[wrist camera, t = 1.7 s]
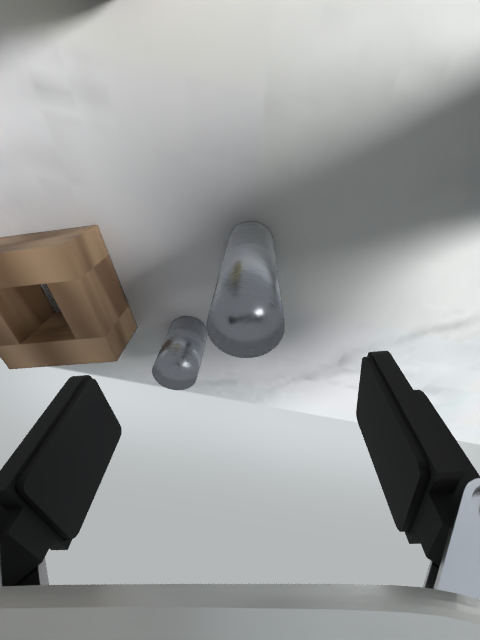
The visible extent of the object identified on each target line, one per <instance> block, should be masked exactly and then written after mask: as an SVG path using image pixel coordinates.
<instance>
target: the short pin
mask: <svg viewBox="0 0 480 640" xmlns="http://www.w3.org/2000/svg"><path fill="white" fill-rule="evenodd" d="M206 338H207V328H206V326H205V325H204V323H203V322H202V321H200V320H199V319H197V318H195V317H191V316H182V317H179V318H177V319H176V320H175V321H174V322H173V323H172V325H171V327H170V330H169V332H168V334H167V336H166V339H165V341H164V343H163V345H162V348H161V350H160V352H159V354H158V357H157V359H156V361H155V363H154V366H153V369H152V373H153V376H154V378H155V380H156V381H157V382H158V383H159V384H161V385H162V386H164V387H166V388H168V389H172V390H184V389H187V388H189V387H191V386H192V385H193V384H194V383H195V381H196V378H197V374H198V370H199V366H200V362H201V358H202V354H203V350H204V346H205V342H206Z"/></svg>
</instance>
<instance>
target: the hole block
mask: <svg viewBox="0 0 480 640" xmlns="http://www.w3.org/2000/svg"><path fill="white" fill-rule="evenodd" d="M40 284H47V286H48V288H49V290H50V292H51V294H52V296H53V297H54V299H55V301H56V303H57V305H58V307H59V309H60V310H61V312H58V313H55V311H54V309H53V308H52V306H51V304H50V302H49V300H48V299H47V297H46V295H45V293H44V291H43V290H42V288H41V286H40ZM136 329H137V325H136V323H135V320H134V318H133V315H132V313H131V310H130V307H129V305H128V302H127V300H126V297H125V295H124V292H123V290H122V287H121V284H120V282H119V279H118V277H117V274H116V272H115V269H114V266H113V264H112V261H111V259H110V256H109V254H108V251H107V249H106V246H105V243H104V241H103V238H102V236H101V233H100V231H99V228H98V225H92V226H84V227H77V228H69V229H61V230H54V231H46V232H39V233H31V234H24V235H16V236H8V237H1V238H0V357H1V358H2V360H3V361H4V362H5V364H6V365H7V366H8V368H9V369H18V368H30V367H31V368H32V367H45V366H59V365H73V364H86V363H100V362H113V361H117V360H118V358H119V357H120V355H121V354H122V352H123V350H124V349H125V347H126V345H127V344H128V342H129V340H130V339H131V337H132V336H133V334H134V332H135V331H136Z"/></svg>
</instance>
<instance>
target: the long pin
mask: <svg viewBox="0 0 480 640" xmlns="http://www.w3.org/2000/svg"><path fill="white" fill-rule="evenodd" d="M207 331H208V335H209V337H210V339H211V340H212V342H213V343H214V344H215V345H216V346H217V347H218V348H219V349H220V350H222V351H223V352H225V353H227V354H229V355H232V356H235V357H240V358H252V357H258V356H261V355H264V354H266V353H268V352H270V351H271V350H272V349H274V348H275V347H276V346H277V345H278V343H279V342H280V341H281V339H282V336H283V334H284V318H283V311H282V303H281V296H280V289H279V281H278V274H277V266H276V259H275V252H274V244H273V238H272V235H271V233H270V231H269V230H268V228H267V227H266V226H264V225H263V224H261V223H259V222H255V221H247V222H243V223H241V224H239V225H237V226H236V227H235V228H234V229H233V231H232V232H231V234H230V237H229V240H228V244H227V248H226V251H225V255H224V259H223V263H222V266H221V270H220V274H219V277H218V281H217V285H216V289H215V292H214V296H213V300H212V304H211V307H210V311H209V315H208V319H207Z"/></svg>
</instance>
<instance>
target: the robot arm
mask: <svg viewBox="0 0 480 640" xmlns="http://www.w3.org/2000/svg"><path fill="white" fill-rule="evenodd" d="M356 415H357V421H358V424H359V427H360V429H361V432H362V435H363V437H364V440H365V443H366V446H367V448H368V451H369V454H370V456H371V459H372V462H373V464H374V467H375V470H376V473H377V475H378V478H379V481H380V484H381V486H382V489H383V492H384V495H385V497H386V500H387V503H388V506H389V508H390V511H391V514H392V516H393V519H394V522H395V524H396V527H397V529H398V530H399V531H400V532H401V531H403V532H404V531H405V534H406V536H407V539H408V542H409V544H418V543H419V544H420V543H421V545H422V547H423V550H424V552H425V555H426V557H427V558H428V559H430V560H431V562H430V565H429V568H428V572H427V575H426V579H425V582H424V585H423V588H421V587H408V586H395V585H354V584H120V585H119V584H117V585H116V584H113V585H49V581H48V575H47V568H46V562H45V555H46V553H47V551H48V549H49V548H50V549H51V550H68V548H69V545H70V543H71V541H72V539H73V538H75V537H76V536H77V534H78V533H79V531H80V529H81V526H82V524H83V522H84V519H85V517H86V515H87V512H88V510H89V508H90V506H91V503H92V501H93V499H94V496H95V494H96V492H97V489H98V487H99V485H100V483H101V480H102V478H103V476H104V473H105V471H106V469H107V466H108V464H109V462H110V459H111V457H112V455H113V452H114V450H115V448H116V446H117V443H118V441H119V439H120V436H121V426H120V424H119V422H118V420H117V419H116V417H115V415H114V413H113V411H112V409H111V407H110V406H109V404H108V402H107V400H106V398H105V396H104V394H103V392H102V391H101V389H100V387H99V385H98V383H97V381H96V380H95V379H92V378H91V376H89V375H84V376H73V377H70V378H69V379H68V381H67V382H66V383H65V385H64V386H63V387H62V389H61V390H60V391H59V393H58V394H57V395H56V397H55V398H54V399H53V401H52V402H51V403H50V405H49V406H48V407H47V409H46V410H45V411H44V413H43V414H42V415H41V417H40V418H39V419H38V421H37V422H36V423H35V425H34V426H33V428H32V429H31V430H30V431H29V433H28V434H27V435H26V437H25V438H24V439H23V441H22V442H21V444H20V445H19V446H18V448H17V449H16V450H15V452H14V453H13V454H12V456H11V457H10V458H9V460H8V461H7V462H6V464H5V465H4V466H3V468H2V469H1V470H0V640H480V476H479V474H478V473H477V471H476V470H475V468H474V467H473V466H472V464H471V462H470V461H469V459H468V458H467V456H466V455H465V453H464V452H463V450H462V449H461V447H460V446H459V444H458V443H457V441H456V440H455V438H454V437H453V435H452V434H451V432H450V431H449V429H448V428H447V426H446V425H445V423H444V422H443V420H442V419H441V417H440V416H439V414H438V413H437V411H436V410H435V408H434V407H433V405H432V404H431V402H430V401H429V399H428V398H427V396H426V395H425V394H424V392H422V391H421V390H413V389H412V387H411V386H410V384H409V382H408V381H407V379H406V378H405V376H404V374H403V373H402V371H401V370H400V368H399V367H398V365H397V363H396V362H395V360H394V359H393V357H392V355H391V354H390V353H389V352H388V351H378V352H369V353H368V356H367V357H363V358H362V365H361V374H360V383H359V392H358V401H357V410H356Z"/></svg>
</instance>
